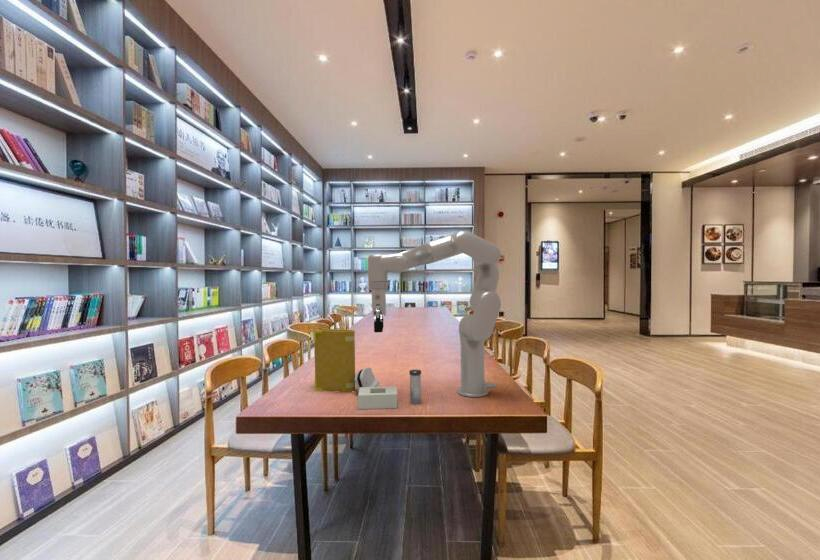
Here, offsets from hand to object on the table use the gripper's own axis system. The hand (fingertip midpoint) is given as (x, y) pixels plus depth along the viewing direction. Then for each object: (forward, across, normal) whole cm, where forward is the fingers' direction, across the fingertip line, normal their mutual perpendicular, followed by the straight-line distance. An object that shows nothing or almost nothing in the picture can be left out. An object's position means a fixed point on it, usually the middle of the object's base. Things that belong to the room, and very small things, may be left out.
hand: (379, 330), depth 147 cm
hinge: (+27, +12, +6) cm, 30 cm away
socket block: (+27, -6, +1) cm, 27 cm away
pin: (+27, -6, -13) cm, 30 cm away
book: (+27, +13, +19) cm, 35 cm away
